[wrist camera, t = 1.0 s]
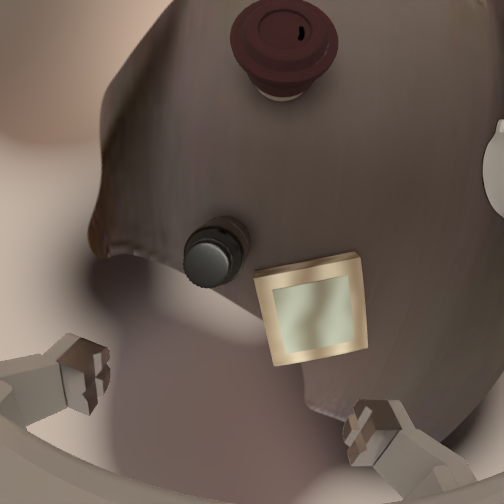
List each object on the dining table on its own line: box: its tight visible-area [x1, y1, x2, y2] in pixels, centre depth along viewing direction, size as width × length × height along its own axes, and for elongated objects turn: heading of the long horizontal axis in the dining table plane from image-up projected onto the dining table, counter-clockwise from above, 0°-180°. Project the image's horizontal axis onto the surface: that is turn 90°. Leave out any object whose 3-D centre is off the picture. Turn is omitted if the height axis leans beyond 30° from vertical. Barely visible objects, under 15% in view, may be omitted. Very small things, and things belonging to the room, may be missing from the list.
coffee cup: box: [230, 0, 338, 101], centre depth 28 cm, size 10×10×15 cm
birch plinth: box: [254, 251, 368, 366], centre depth 41 cm, size 14×14×3 cm
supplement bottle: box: [183, 216, 250, 288], centre depth 35 cm, size 7×7×12 cm
